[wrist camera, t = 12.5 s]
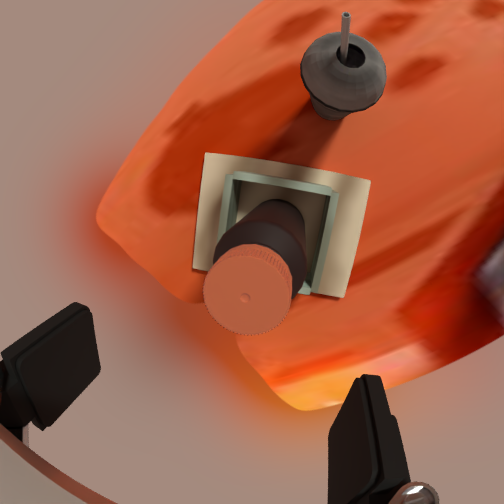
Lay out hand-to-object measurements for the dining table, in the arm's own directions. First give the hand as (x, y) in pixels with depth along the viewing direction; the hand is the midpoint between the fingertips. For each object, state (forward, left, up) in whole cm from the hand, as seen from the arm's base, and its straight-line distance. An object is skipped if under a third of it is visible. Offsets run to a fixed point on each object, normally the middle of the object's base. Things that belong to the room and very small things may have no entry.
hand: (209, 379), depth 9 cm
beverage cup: (-4, -16, -28) cm, 33 cm away
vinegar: (0, 0, -27) cm, 27 cm away
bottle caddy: (0, 0, -28) cm, 28 cm away
